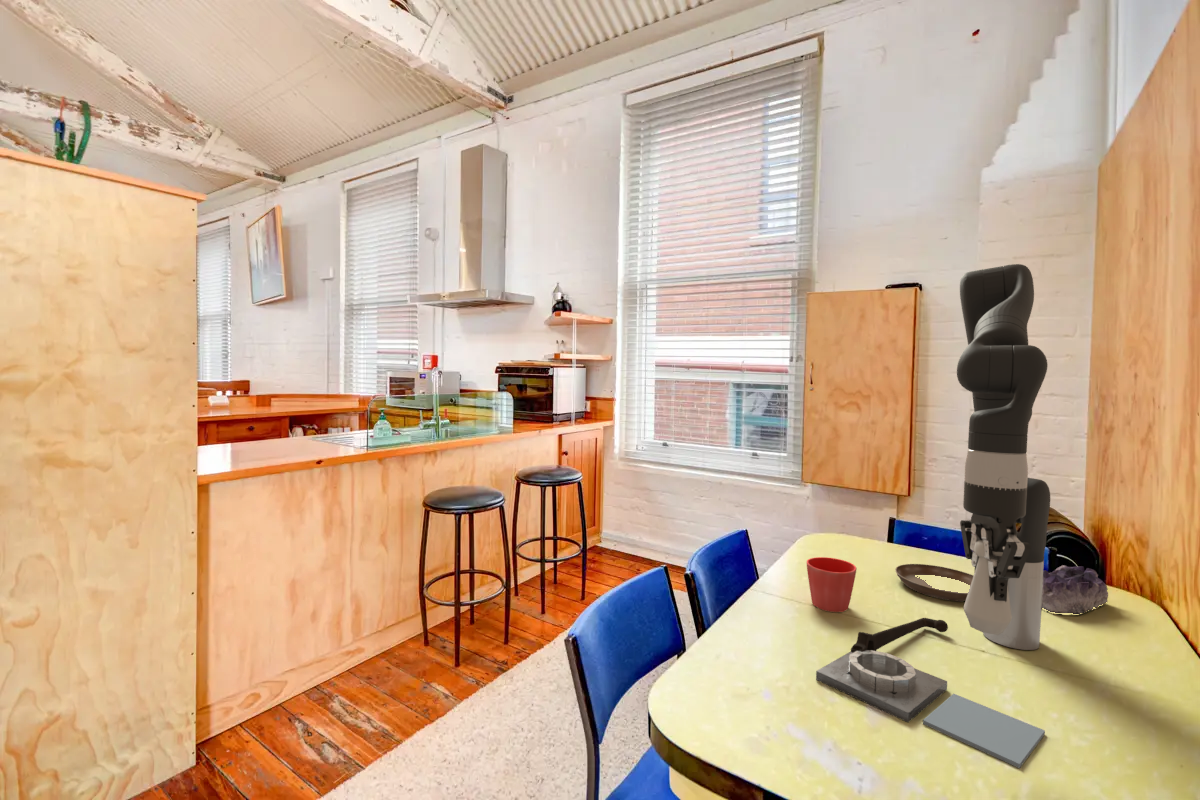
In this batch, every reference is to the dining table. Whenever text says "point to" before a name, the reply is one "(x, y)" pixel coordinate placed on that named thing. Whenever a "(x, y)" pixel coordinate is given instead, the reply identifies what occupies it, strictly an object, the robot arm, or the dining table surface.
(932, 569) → the plant saucer
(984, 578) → the salt shaker
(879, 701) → the eye plate
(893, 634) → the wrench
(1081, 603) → the geode
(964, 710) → the rubber mat
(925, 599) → the dining table surface
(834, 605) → the flower pot
